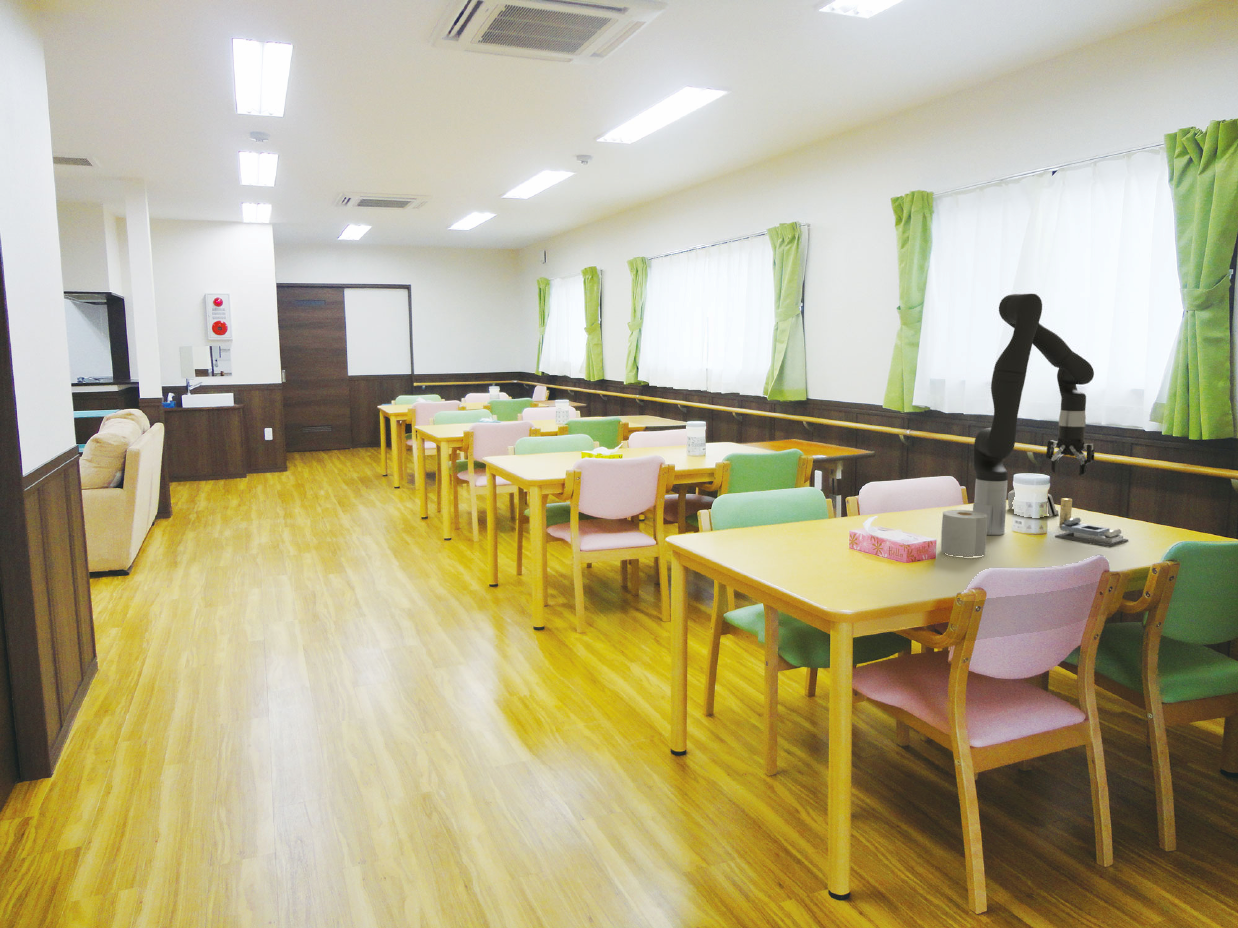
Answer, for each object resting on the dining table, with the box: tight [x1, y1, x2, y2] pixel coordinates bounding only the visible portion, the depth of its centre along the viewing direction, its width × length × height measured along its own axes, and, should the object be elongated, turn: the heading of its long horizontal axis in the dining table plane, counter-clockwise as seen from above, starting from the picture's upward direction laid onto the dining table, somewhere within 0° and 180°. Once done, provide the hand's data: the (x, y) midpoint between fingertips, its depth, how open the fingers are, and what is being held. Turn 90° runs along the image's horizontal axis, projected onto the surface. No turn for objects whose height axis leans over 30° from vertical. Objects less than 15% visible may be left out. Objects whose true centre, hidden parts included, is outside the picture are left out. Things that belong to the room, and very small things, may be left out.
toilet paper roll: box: [940, 509, 988, 557], centre depth 236 cm, size 12×12×12 cm
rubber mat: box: [1054, 531, 1129, 548], centre depth 251 cm, size 12×16×1 cm
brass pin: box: [1059, 497, 1073, 527], centre depth 269 cm, size 3×3×9 cm
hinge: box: [1007, 488, 1060, 518], centre depth 290 cm, size 17×5×10 cm, turn 28°
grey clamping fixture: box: [1060, 516, 1124, 544], centre depth 251 cm, size 7×15×5 cm, turn 35°
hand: (1068, 473), depth 267 cm, fingers open, 8 cm apart
